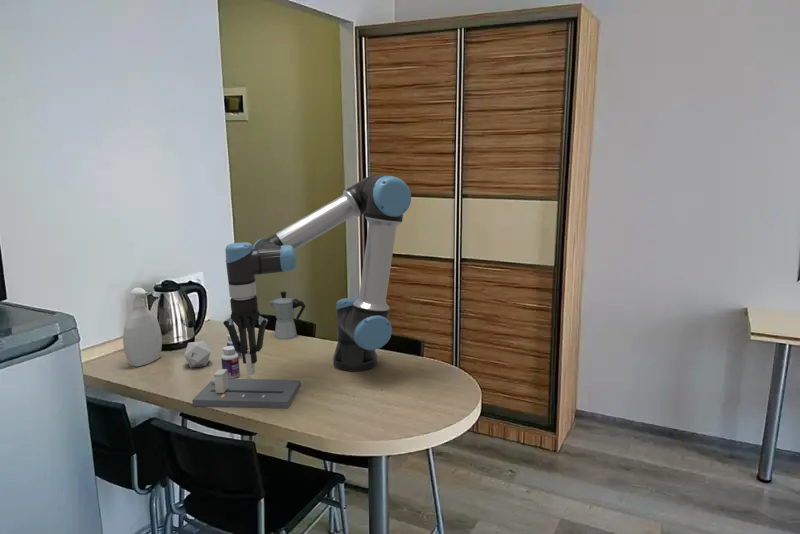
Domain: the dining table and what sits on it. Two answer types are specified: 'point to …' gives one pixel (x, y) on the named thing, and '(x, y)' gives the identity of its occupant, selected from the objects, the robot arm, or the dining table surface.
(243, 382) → the console
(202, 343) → the die
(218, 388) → the fader knob
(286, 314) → the coffee maker
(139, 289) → the soap bottle
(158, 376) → the dining table surface
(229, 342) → the pill bottle
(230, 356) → the pill bottle
